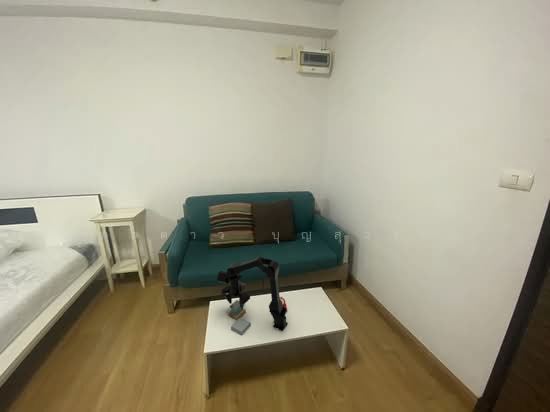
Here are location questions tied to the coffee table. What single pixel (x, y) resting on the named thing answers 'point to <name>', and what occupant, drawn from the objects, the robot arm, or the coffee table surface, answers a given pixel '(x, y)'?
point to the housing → (235, 308)
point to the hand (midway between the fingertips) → (236, 306)
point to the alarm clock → (283, 302)
